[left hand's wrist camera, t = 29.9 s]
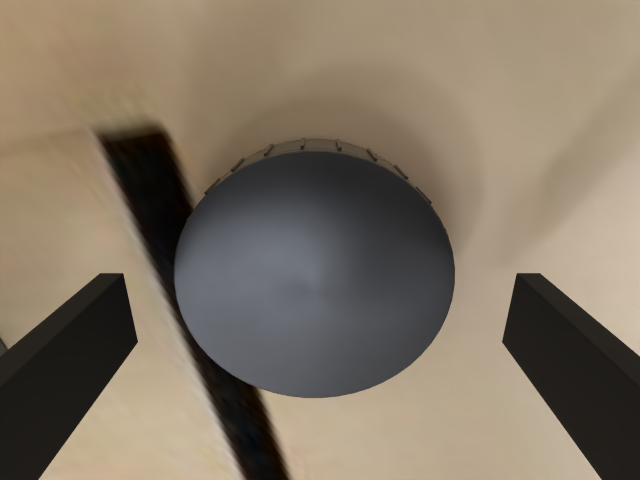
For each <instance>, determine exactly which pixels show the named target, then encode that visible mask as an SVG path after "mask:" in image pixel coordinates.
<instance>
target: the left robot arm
mask: <svg viewBox="0 0 640 480" xmlns="http://www.w3.org/2000/svg"><path fill="white" fill-rule="evenodd" d="M137 343H138V340H137V336H136V331H135V326H134V322H133V317H132V312H131V308H130V303H129V298H128V294H127V289H126V284H125V280H124V275H123V273H100V274H99V275H98V276H96V277H95V278H94V279H93V280H92V281H90V282H89V283H88V284H87V285H86V286H84V287H83V288H82V289H81V290H80V291H78V292H77V293H76V294H75V295H74V296H72V297H71V298H70V299H69V300H68V301H66V302H65V303H64V304H63V305H62V306H60V307H59V308H58V309H57V310H56V311H54V312H53V313H52V314H51V315H50V316H48V317H47V318H46V319H45V320H44V321H42V322H41V323H40V324H39V325H38V326H36V327H35V328H34V329H33V330H31V331H30V332H29V333H28V334H27V335H25V336H24V337H23V338H22V339H21V340H19V341H18V342H17V343H16V344H15V345H13V346H12V347H11V348H10V349H9V350H7V351H6V352H5V353H4V354H3V355H1V356H0V480H38V479H39V478H40V477H41V475H42V474H43V472H44V471H45V470H46V468H47V467H48V465H49V464H50V463H51V461H52V460H53V459H54V457H55V456H56V454H57V453H58V452H59V450H60V449H61V448H62V446H63V445H64V443H65V442H66V441H67V439H68V438H69V436H70V435H71V434H72V432H73V431H74V430H75V428H76V427H77V425H78V424H79V423H80V421H81V420H82V419H83V417H84V416H85V414H86V413H87V412H88V410H89V409H90V407H91V406H92V405H93V403H94V402H95V401H96V399H97V398H98V396H99V395H100V394H101V392H102V391H103V389H104V388H105V387H106V385H107V384H108V383H109V381H110V380H111V378H112V377H113V376H114V374H115V373H116V372H117V370H118V369H119V367H120V366H121V365H122V363H123V362H124V360H125V359H126V358H127V356H128V355H129V354H130V352H131V351H132V349H133V348H134V347H135V345H136V344H137ZM502 343H503V344H504V345H505V347H506V348H507V349H508V351H509V352H510V354H511V355H512V356H513V358H514V359H515V360H516V362H517V363H518V365H519V366H520V367H521V369H522V370H523V372H524V373H525V374H526V376H527V377H528V378H529V380H530V381H531V383H532V384H533V385H534V387H535V388H536V389H537V391H538V392H539V394H540V395H541V396H542V398H543V399H544V401H545V402H546V403H547V405H548V406H549V407H550V409H551V410H552V412H553V413H554V414H555V416H556V417H557V419H558V420H559V421H560V423H561V424H562V425H563V427H564V428H565V430H566V431H567V432H568V434H569V435H570V436H571V438H572V439H573V441H574V442H575V443H576V445H577V446H578V448H579V449H580V450H581V452H582V453H583V454H584V456H585V457H586V459H587V460H588V461H589V463H590V464H591V465H592V467H593V468H594V470H595V471H596V472H597V474H598V475H599V477H600V478H601V479H602V480H640V356H639V355H637V354H636V353H635V352H634V351H633V350H631V349H630V348H629V347H628V346H627V345H625V344H624V343H623V342H622V341H621V340H619V339H618V338H617V337H616V336H615V335H613V334H612V333H611V332H610V331H609V330H607V329H606V328H605V327H604V326H602V325H601V324H600V323H599V322H598V321H596V320H595V319H594V318H593V317H592V316H590V315H589V314H588V313H587V312H586V311H584V310H583V309H582V308H581V307H580V306H578V305H577V304H576V303H575V302H574V301H572V300H571V299H570V298H569V297H568V296H566V295H565V294H564V293H563V292H562V291H560V290H559V289H558V288H557V287H556V286H554V285H553V284H552V283H551V282H550V281H548V280H547V279H546V278H545V277H544V276H542V275H541V274H540V273H517V275H516V280H515V284H514V289H513V294H512V298H511V303H510V308H509V312H508V317H507V322H506V326H505V331H504V336H503V340H502Z"/></svg>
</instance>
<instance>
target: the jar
mask: <svg viewBox="0 0 640 480" xmlns="http://www.w3.org/2000/svg"><path fill="white" fill-rule="evenodd" d="M6 351H7V349H6V348H5V346H4V345H3V343H2V342H1V340H0V356H1V355H3V354H4V353H5V352H6Z"/></svg>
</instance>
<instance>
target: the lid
mask: <svg viewBox="0 0 640 480" xmlns="http://www.w3.org/2000/svg"><path fill="white" fill-rule="evenodd" d="M204 194H206V196H205V197H204V198H203V199H202V200H201V201H200V202H199V203H198V205H197V206H196V208H195V209H194V211H193V212H192V214H191V215H190V216H189V217H188V218H187V220H186V221H187V222H186V224H185V227H184V229H183V231H182V233H181V236H180V239H179V242H178V245H177V249H176V254H175V261H174V287H175V293H176V299H177V303H178V306H179V309H180V312H181V315H182V317H183V319H184V321H185V324H186V326H187V328H188V330H189V331H190V333H191V334H192V336H193V337H194V339H195V340H196V342H197V343H198V344H199V345H200V347H201V348H202V349H203V350H204V351H205V353H206V354H207V355H208V356H209V357H211V358H212V359H213V360H214V361H215V362H216V363H217V364H218V365H219V366H221V367H222V368H224V369H225V370H226V371H228V372H229V373H230V374H232V375H234V376H235V377H237V378H239V379H241V380H242V381H244V382H246V383H249V384H251V385H253V386H256V387H258V388H260V389H264V390H267V391H270V392H273V393H277V394H282V395H287V396H293V397H303V398H325V397H336V396H342V395H347V394H352V393H356V392H359V391H362V390H365V389H369V388H371V387H373V386H376V385H378V384H380V383H383V382H384V381H386V380H388V379H390V378H392V377H393V376H395V375H397V374H398V373H400V372H401V371H402V370H404V369H405V368H407V367H408V366H409V365H411V364H412V363H413V362H414V361H415V360H416V359H417V358H418V357H419V356H420V355H421V354H422V353H423V352H424V351H425V350H426V349H427V347H428V346H429V345H430V344H431V343H432V341H433V340H434V338H435V337H436V335H437V334H438V332H439V331H440V329H441V327H442V325H443V323H444V321H445V319H446V316H447V314H448V311H449V308H450V304H451V301H452V296H453V290H454V283H455V266H454V258H453V251H452V248H451V244H450V241H449V237H448V234H447V232H446V229H445V228H444V226H443V224H442V222H441V219H440V218H439V216H438V215H437V213H436V212H435V210H434V209H433V207H432V206H431V201H430V200H429V199H428V198H427V197H426V196H425V195H424V194H423V193H422V192H421V191H420V190H419V189H418V188H417V187H416V188H415V187H414V186H413V185H412V184H411V182H410V181H409V180H408V177H407V176H406V175H405V174H404V173H403V172H402V171H401V170H400V169H399V168H398V166H396V165H395V166H392V165H391V164H390V163H389V162H387V161H385V160H384V159H382V158H381V157H379V156H377V155H376V154H374V153H373V152H372V151H371V150H370V149H367V150H365V149H362V148H360V147H357V146H354V145H350V144H347V143H343V142H340V141H339V139H336V141H331V140H314V139H306V138H302V140H298V141H290V142H286V143H282V144H278V145H275V146H273V144H271V145H269V147H268V148H267V149H264V150H262V151H259V152H257V153H255V154H253V155H252V156H250V157H248V158H247V159H245V160H244V158H242V159H241V160H240V161H239V162H238V163H237V164H236V165H235V166H234V167H233V168H232V169H231V170H230V171H229V172H228V173H227V174H226V175H225V176H224V177H223V178H222V179H220V178H219V179H218V180H217V181H216V182H215V183H214V184H213V185H212V186H211V187H210V188H209V189H208V190H207V191H206V192H205V193H204Z"/></svg>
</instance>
